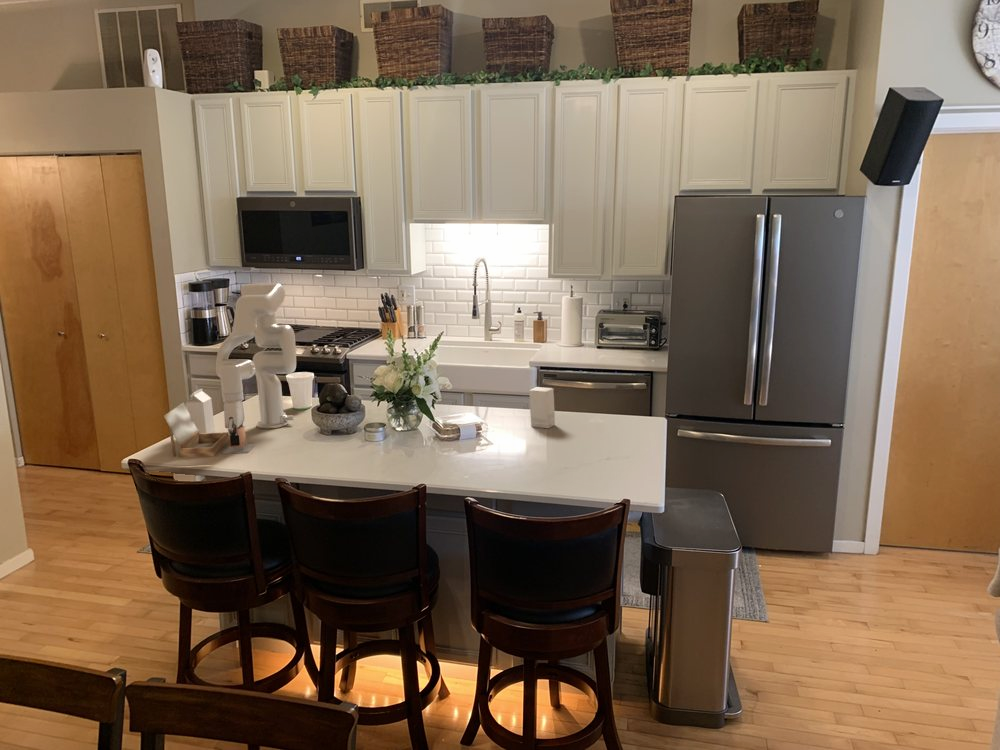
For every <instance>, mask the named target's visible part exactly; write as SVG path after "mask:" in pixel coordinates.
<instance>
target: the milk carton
mask: <svg viewBox="0 0 1000 750" xmlns="http://www.w3.org/2000/svg"><path fill="white" fill-rule="evenodd" d="M212 401H213V400H212V397H210V396H209V395H208V394H207V393H206V392H204V391H203V388H200V389H198V390H196V391H194V392H193V393H191V394H190V395H189V399H188V400H187V401H186V402H185V406H186V408H187V410H188V412H189V414H190V416H191V418H192V420H193V422H194V424H195V426H196V428H197V430H199V433H216V432H215V431H216V430H215V422H214V421H215V420H214V412H213V411H214V410H213V402H212Z"/></svg>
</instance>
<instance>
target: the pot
mask: <svg viewBox="0 0 1000 750" xmlns="http://www.w3.org/2000/svg"><path fill="white" fill-rule="evenodd" d="M233 427H235V426H233ZM245 428H246V427H245V425H244V424H243V425H240V426H239V427H238V435H239V441H240V445H239V446H231V443H230V435H229V430H228V429H227V432H228V435H229V441H228V445H230V447H233V448H237V447H243V446H245V445H247V437H246V429H245ZM233 430H235V431H236V429H233Z"/></svg>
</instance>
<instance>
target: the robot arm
mask: <svg viewBox="0 0 1000 750" xmlns="http://www.w3.org/2000/svg"><path fill="white" fill-rule="evenodd" d="M285 290H286V289H285V288H284V286H283V285H282V284H280V283H276V282H275V283H273V282H269V283H268V282H266V283H264V282H260V283H247V284H246V283H245V284H244V285H242V286H241V288H240V295H241V296H239V297H238V298H237V300H236V305H235V312H234V319H233V326H232V331H231V333H230V334H229V335H228V336H227V337H226V338H225V339H224V340H223V342H222V343H221V345H220V346H219V348H218V351H217V353H216V354H217V355H216V361H215V372H216V376H218V377H219V378H220V385H221V386H220V388H221V389H220V390H221V396H222V402H223V403H224V404H223V413H224V415H223V416H224V417H223V418H224V428H225V429H227V431H228V430H229V435H230V443H231V446H239V445H240V441H239V435H238V427H239V426H240V425H243V426H244V422H245V412H244V404H243V401H244V400H245V397H244V387H243V381H244V380H249V379H251V378H253V376H255V377H256V379H255V380H256V384H257V385H256V386H257V387H256V388H257V396H258V397H257V398H258V406H259V407H258V408H259V415H260V421H258V422H257V423H256V426H257V427H258V428H260V429H278V428H281V427H285V426H286V425H289V421H295V416H294V415H292V414H289V415H288V414H287V413H286V411H284V402H283V391H282V383H281V380H280V379H279V377H278V376H277V375H288V374H291V373H295V371H296V368H297V352H296V351H297V350H296V349H297V348H296V347H297V346H296V336H295V334H296V333H295V331H294V329H293V327H292V326H290V325H289V324H277V322H276V312H277V310H278V309H279V308H280V306H282V304H283V303H284V300H285V296H286V291H285ZM253 338H254V339H255V340H254V341H255V344H256V346H258V347H259V348H262V349H263V348H264V349H266V348H267V349H268V348H269V349H272V348H273V349H274V348H275V349H281V350H261V351H258V352H257V353H255V354H254V355H253V357H252V360H251V359H244V358H241V359H240V358H238V359H236V358H230V359H229V356H230V354H231V353H232V351H233V350H234V349H235V348H237V347H238V346H240V345H242V344H243V343H246V342H248V341H250V340H252V339H253ZM233 426H235V427H233ZM233 429H236V431H235V430H233Z"/></svg>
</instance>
